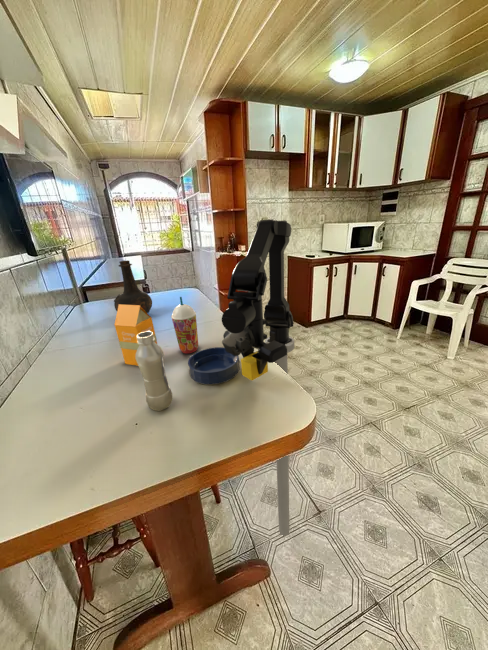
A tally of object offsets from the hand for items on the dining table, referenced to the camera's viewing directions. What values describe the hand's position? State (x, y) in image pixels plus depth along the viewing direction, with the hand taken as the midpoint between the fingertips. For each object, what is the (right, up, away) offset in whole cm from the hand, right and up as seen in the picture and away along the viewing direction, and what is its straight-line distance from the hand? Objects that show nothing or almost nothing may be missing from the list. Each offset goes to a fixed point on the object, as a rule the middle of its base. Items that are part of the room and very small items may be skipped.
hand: (254, 370), depth 72 cm
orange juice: (-38, 0, +20) cm, 43 cm away
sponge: (0, -1, 0) cm, 1 cm away
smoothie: (-23, +3, +24) cm, 33 cm away
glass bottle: (-58, +17, +65) cm, 89 cm away
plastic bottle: (-24, -8, -4) cm, 26 cm away
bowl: (-12, -2, +9) cm, 15 cm away
